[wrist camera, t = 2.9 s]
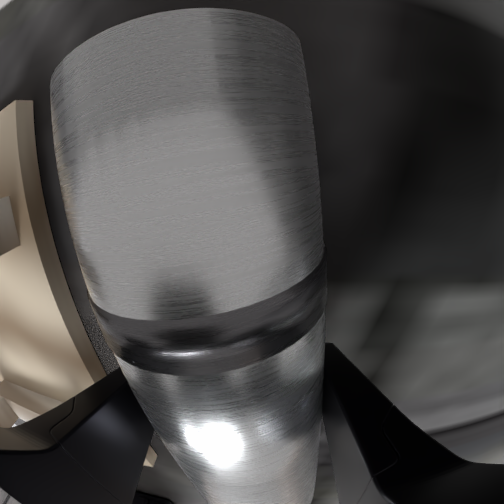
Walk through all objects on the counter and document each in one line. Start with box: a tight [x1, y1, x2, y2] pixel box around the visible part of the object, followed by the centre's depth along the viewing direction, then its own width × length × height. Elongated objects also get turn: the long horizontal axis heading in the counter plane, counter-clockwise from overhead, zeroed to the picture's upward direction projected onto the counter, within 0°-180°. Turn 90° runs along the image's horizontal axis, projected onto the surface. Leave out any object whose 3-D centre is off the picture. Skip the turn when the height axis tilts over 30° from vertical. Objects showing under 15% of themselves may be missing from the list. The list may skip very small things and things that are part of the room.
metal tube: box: [50, 8, 327, 504], centre depth 7 cm, size 16×5×5 cm, turn 7°
